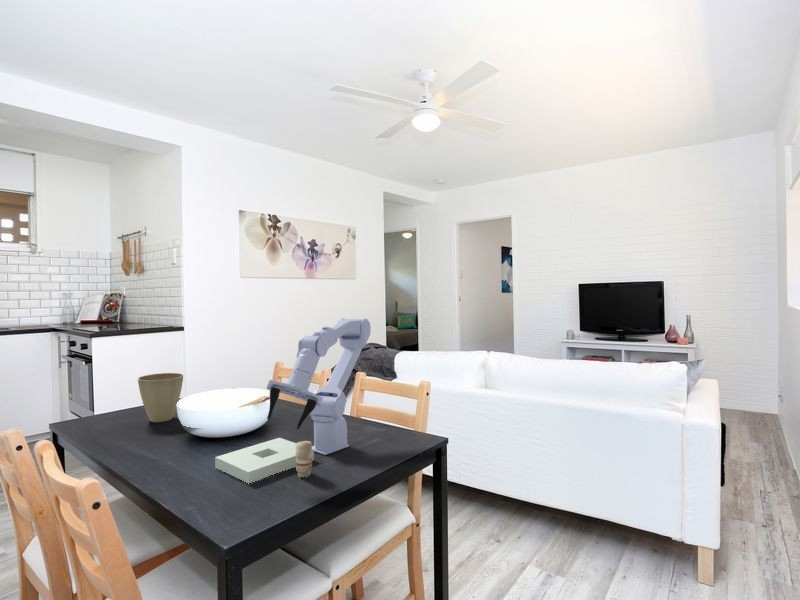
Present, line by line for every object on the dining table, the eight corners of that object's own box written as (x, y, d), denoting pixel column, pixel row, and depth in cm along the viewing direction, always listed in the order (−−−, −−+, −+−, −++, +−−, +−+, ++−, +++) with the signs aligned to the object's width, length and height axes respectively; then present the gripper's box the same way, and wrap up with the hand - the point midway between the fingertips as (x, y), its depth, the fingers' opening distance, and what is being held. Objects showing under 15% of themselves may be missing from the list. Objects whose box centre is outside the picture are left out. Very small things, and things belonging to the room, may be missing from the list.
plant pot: (144, 428, 156) (143, 382, 156) (134, 419, 167) (133, 376, 167) (190, 419, 166) (189, 376, 166) (177, 411, 177) (176, 371, 177)
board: (279, 447, 135) (279, 437, 135) (314, 460, 125) (313, 449, 125) (215, 468, 120) (215, 457, 120) (248, 484, 110) (248, 472, 109)
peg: (305, 470, 118) (305, 439, 118) (315, 474, 115) (315, 443, 115) (292, 475, 115) (292, 444, 114) (302, 479, 112) (302, 447, 112)
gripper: (277, 360, 118) (255, 408, 110) (330, 378, 119) (313, 427, 112) (275, 370, 123) (255, 417, 116) (325, 387, 125) (309, 435, 117)
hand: (283, 423), depth 114 cm, fingers open, 7 cm apart
